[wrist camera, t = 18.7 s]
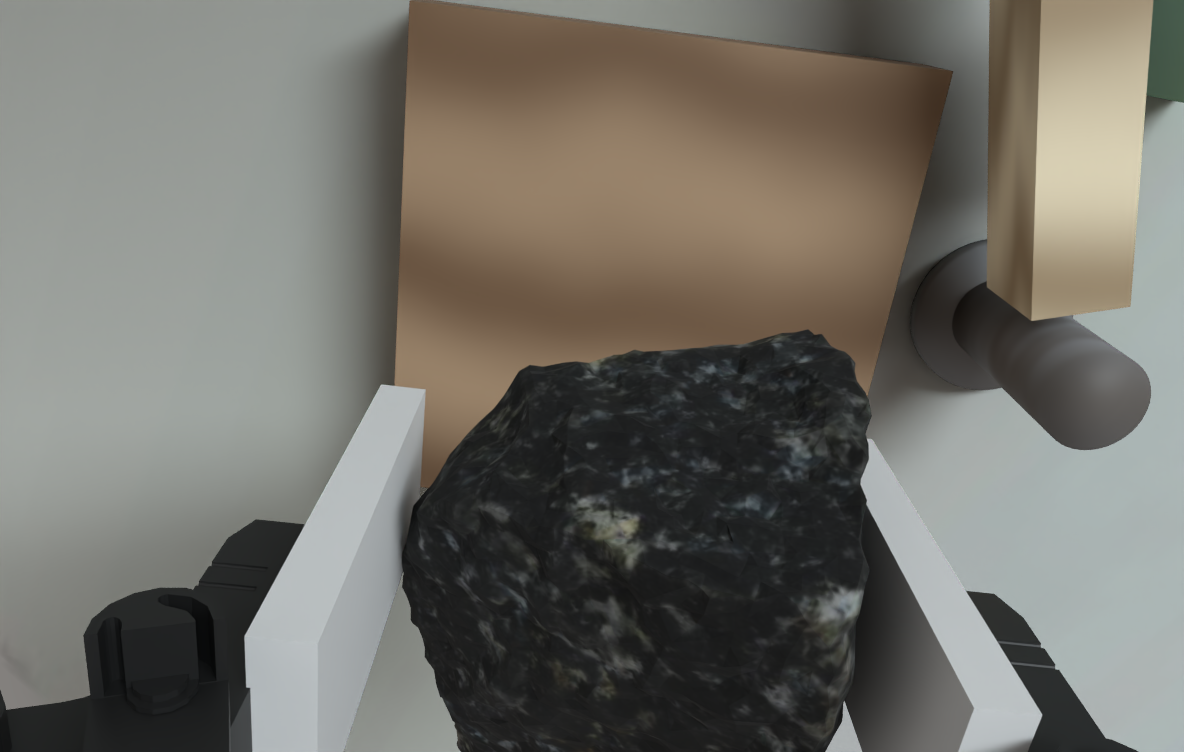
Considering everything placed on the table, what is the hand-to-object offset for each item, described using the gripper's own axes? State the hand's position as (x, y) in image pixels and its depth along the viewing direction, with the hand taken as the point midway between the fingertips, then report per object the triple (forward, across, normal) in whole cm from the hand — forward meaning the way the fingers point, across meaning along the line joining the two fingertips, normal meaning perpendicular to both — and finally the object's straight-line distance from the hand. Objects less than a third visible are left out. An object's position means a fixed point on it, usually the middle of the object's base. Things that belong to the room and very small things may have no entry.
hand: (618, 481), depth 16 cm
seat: (+13, +4, 0) cm, 14 cm away
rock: (0, +1, -2) cm, 2 cm away
